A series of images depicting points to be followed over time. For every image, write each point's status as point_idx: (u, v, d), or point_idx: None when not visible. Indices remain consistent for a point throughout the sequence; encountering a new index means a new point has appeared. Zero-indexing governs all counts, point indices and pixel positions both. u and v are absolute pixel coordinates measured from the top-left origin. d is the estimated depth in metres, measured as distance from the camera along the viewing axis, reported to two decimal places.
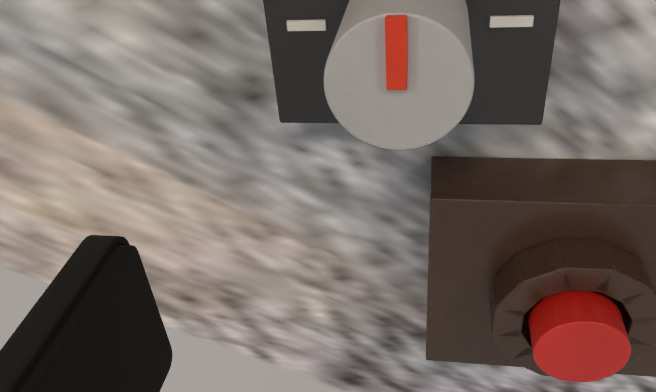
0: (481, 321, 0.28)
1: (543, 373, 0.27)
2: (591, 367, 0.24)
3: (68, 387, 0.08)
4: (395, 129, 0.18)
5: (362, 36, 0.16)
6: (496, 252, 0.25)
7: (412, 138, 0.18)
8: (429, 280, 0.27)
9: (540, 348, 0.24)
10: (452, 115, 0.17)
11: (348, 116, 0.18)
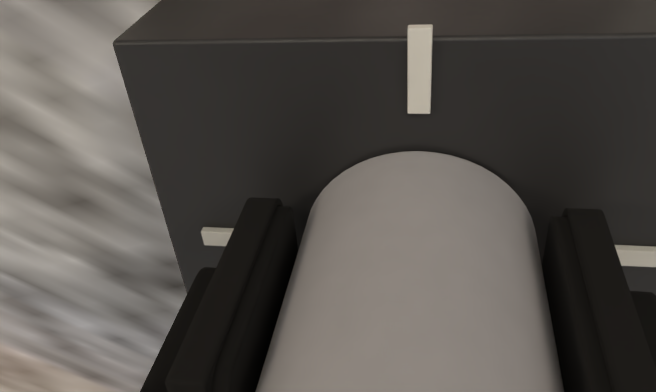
0: None
1: None
2: None
3: (260, 333, 0.09)
4: None
5: None
6: None
7: None
8: None
9: None
10: None
11: None
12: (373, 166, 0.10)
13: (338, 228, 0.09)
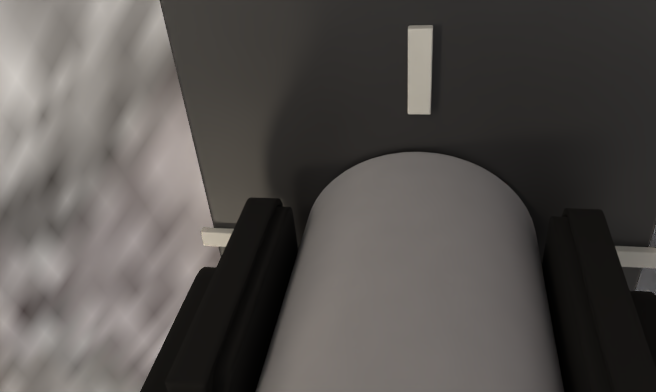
0: None
1: None
2: None
3: (260, 333, 0.09)
4: None
5: None
6: None
7: None
8: None
9: None
10: None
11: None
12: (374, 166, 0.10)
13: (340, 228, 0.09)
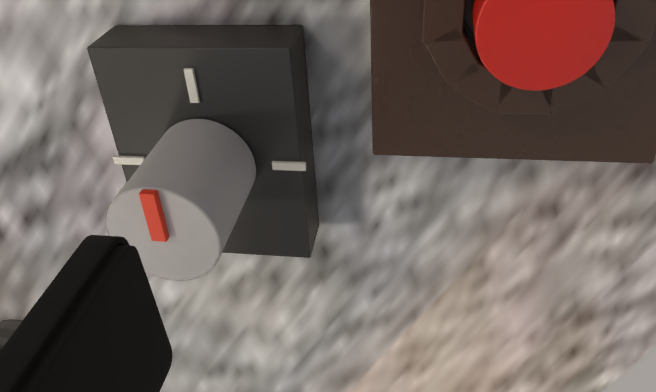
0: None
1: (644, 42, 0.17)
2: (578, 11, 0.16)
3: (68, 387, 0.08)
4: (168, 266, 0.22)
5: (128, 201, 0.20)
6: (449, 88, 0.21)
7: (183, 273, 0.22)
8: (494, 157, 0.22)
9: (529, 83, 0.17)
10: (208, 259, 0.21)
11: None
12: (179, 124, 0.24)
13: (157, 146, 0.23)
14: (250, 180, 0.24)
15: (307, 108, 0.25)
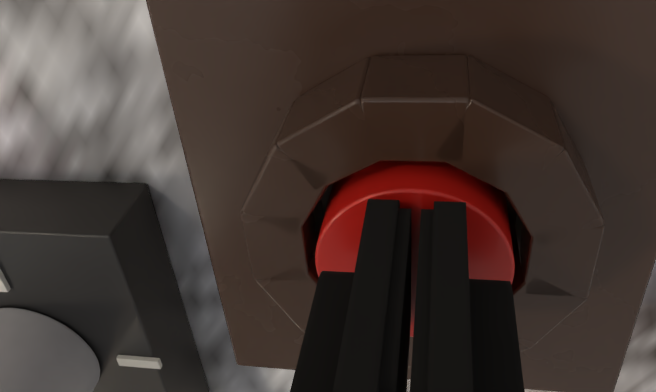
0: None
1: (578, 298, 0.11)
2: None
3: (403, 340, 0.08)
4: None
5: None
6: None
7: None
8: None
9: None
10: None
11: None
12: None
13: None
14: (85, 386, 0.18)
15: (168, 279, 0.19)
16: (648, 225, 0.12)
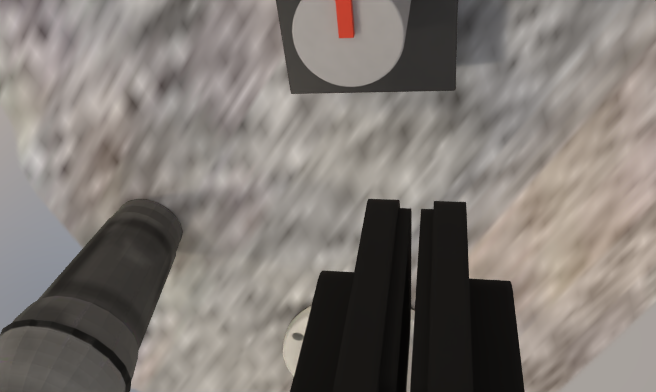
0: None
1: None
2: None
3: (403, 340, 0.08)
4: (348, 70, 0.23)
5: None
6: None
7: (362, 76, 0.23)
8: None
9: None
10: (390, 57, 0.22)
11: (312, 60, 0.23)
12: None
13: None
14: None
15: None
16: None
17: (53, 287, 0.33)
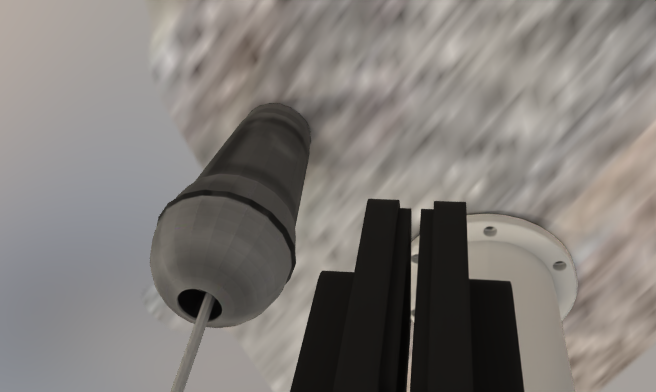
0: None
1: None
2: None
3: (403, 339, 0.08)
4: None
5: None
6: None
7: None
8: None
9: None
10: None
11: None
12: None
13: None
14: None
15: None
16: None
17: (210, 170, 0.31)
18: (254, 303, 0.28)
